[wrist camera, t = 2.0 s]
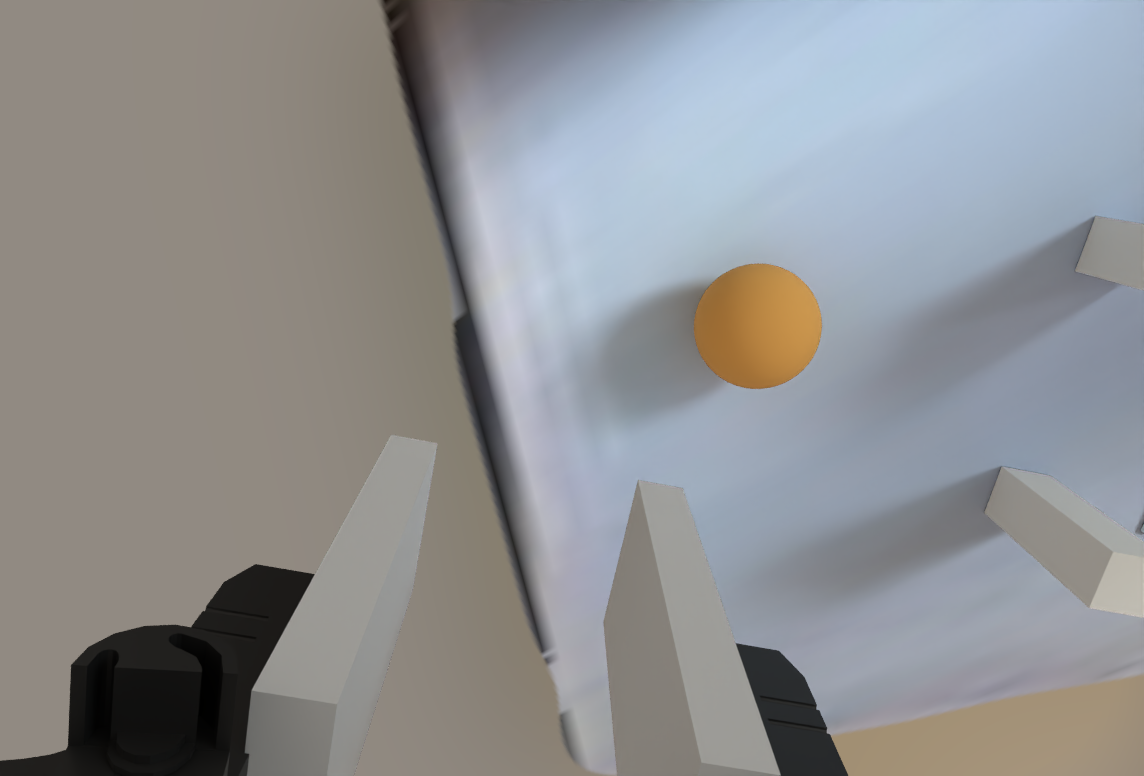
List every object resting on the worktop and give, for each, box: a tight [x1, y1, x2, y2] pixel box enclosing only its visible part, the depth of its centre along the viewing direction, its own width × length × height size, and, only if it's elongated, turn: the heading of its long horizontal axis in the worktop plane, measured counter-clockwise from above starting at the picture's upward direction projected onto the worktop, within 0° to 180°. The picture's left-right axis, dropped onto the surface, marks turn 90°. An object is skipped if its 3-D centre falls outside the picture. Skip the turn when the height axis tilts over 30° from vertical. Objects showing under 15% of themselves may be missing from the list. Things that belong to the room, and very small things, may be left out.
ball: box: [694, 264, 822, 389], centre depth 38 cm, size 6×6×6 cm
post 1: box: [984, 467, 1144, 618], centre depth 39 cm, size 3×3×9 cm
